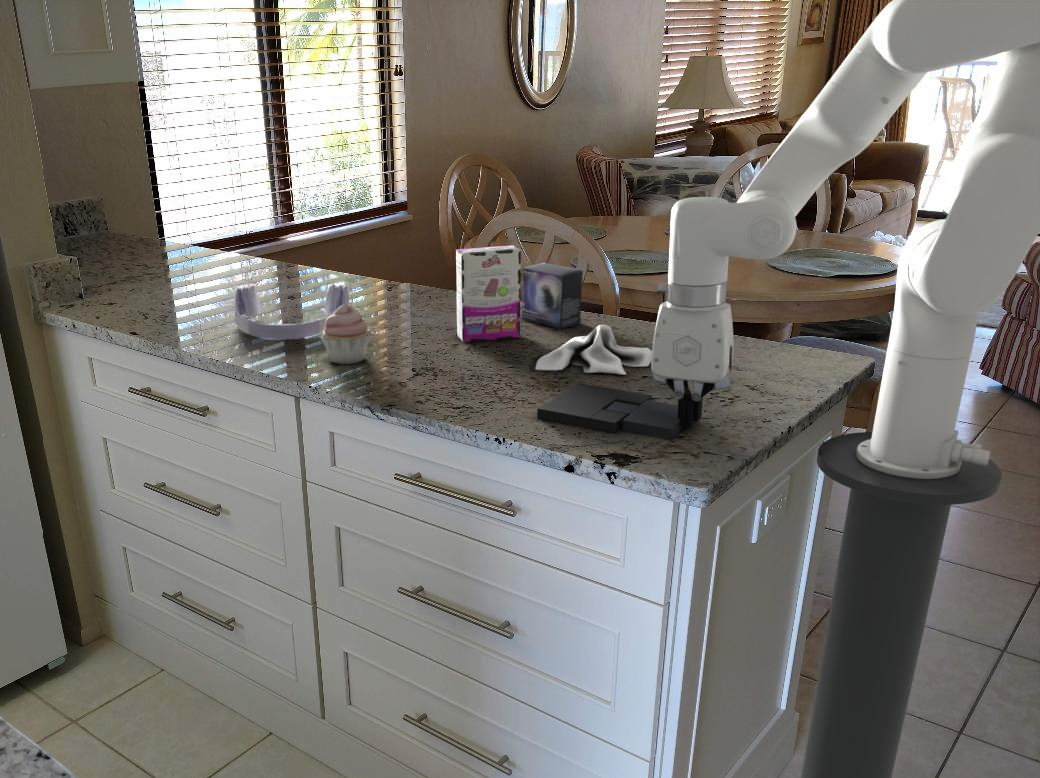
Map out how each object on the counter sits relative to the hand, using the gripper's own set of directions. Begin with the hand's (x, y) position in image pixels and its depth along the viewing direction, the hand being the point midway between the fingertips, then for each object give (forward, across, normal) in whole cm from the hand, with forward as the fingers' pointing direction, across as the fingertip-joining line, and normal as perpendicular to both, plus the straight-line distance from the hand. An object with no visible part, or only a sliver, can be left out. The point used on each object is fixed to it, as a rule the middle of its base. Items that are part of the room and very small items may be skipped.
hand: (688, 424), depth 139 cm
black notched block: (0, -14, 0) cm, 14 cm away
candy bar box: (0, -48, +29) cm, 56 cm away
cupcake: (-1, -62, +4) cm, 62 cm away
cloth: (0, -25, +25) cm, 35 cm away
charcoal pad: (0, -6, 0) cm, 6 cm away
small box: (0, -42, +45) cm, 62 cm away
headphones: (-2, -86, +18) cm, 88 cm away
